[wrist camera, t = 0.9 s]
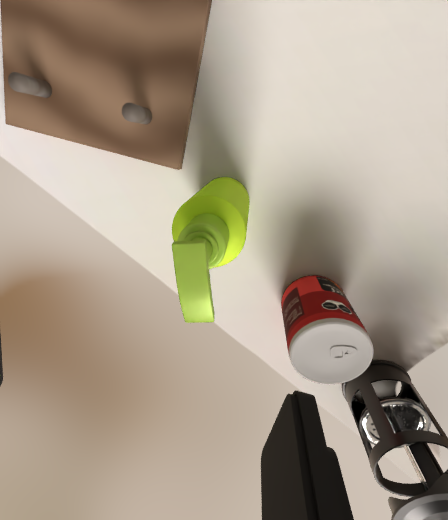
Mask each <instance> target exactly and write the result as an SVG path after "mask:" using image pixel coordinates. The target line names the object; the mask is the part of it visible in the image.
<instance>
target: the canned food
mask: <svg viewBox="0 0 448 520" xmlns="http://www.w3.org/2000/svg"><path fill="white" fill-rule="evenodd" d="M281 306H282V314H283V320H284V327H285V334H286V340H287V347H288V352H289V357H290V360H291V363H292V365H293V367H294V369H295V370H296V371H297V372H298V373H299V375H301V376H302V377H304V378H305V379H307V380H309V381H312V382H315V383H319V384H340V383H344V382H347V381H350V380H352V379H354V378H356V377H358V376H359V375H361V374H362V373H363V372H364V371H365V370H366V369H367V368H368V366H369V365H370V363H371V361H372V358H373V351H374V350H373V344H372V342H371V339H370V337H369V335H368V333H367V332H366V330H365V328H364V326H363V324H362V323H361V321H360V319H359V318H358V316H357V314H356V313H355V311H354V309H353V308H352V306H351V304H350V303H349V301H348V299H347V298H346V296H345V294H344V293H343V291H342V289H341V288H340V287H339V286H338V285H337V284H336V283H335V282H333V281H332V280H330V279H328V278H325V277H322V276H315V275H313V276H305V277H302V278H299V279H297V280H296V281H294V282H292V283H291V284H290V285H289V286H288V288H287V289H286V290H285V292H284V295H283V297H282V302H281Z"/></svg>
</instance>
